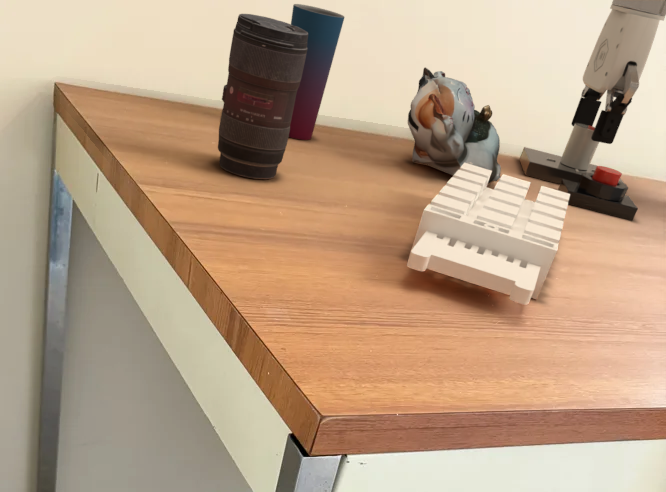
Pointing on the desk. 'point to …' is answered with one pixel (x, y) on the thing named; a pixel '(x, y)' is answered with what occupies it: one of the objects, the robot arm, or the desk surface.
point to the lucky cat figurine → (451, 127)
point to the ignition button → (607, 175)
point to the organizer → (491, 233)
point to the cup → (313, 65)
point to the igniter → (599, 196)
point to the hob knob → (580, 147)
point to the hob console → (550, 167)
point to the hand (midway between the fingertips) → (590, 134)
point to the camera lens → (260, 95)
